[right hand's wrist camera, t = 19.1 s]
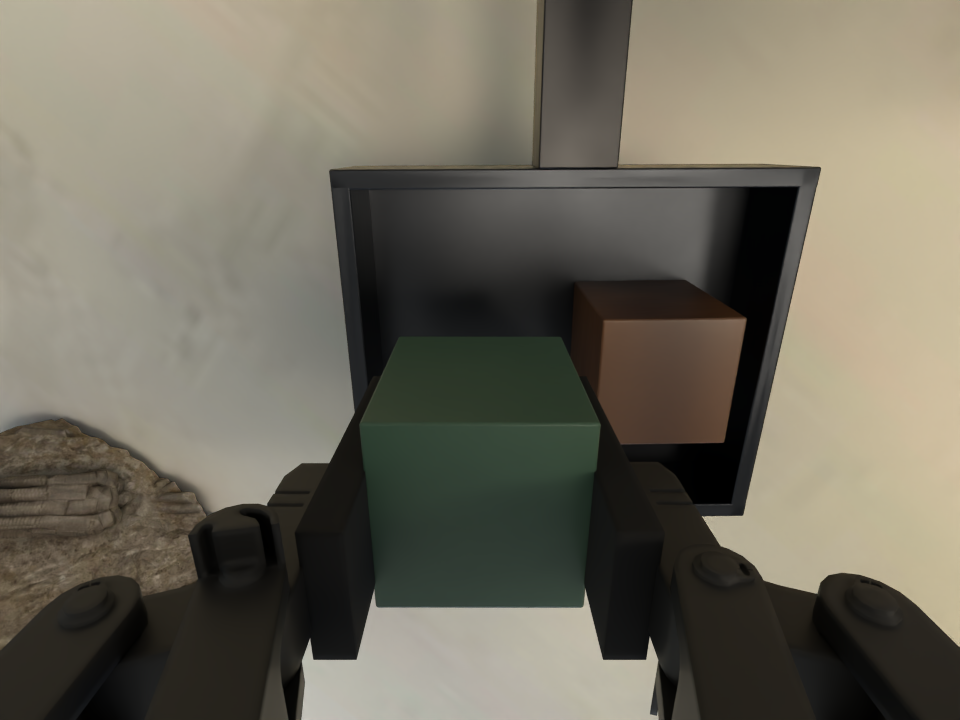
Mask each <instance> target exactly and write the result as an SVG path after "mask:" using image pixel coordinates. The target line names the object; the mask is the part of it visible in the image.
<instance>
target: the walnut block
mask: <svg viewBox="0 0 960 720" xmlns="http://www.w3.org/2000/svg"><path fill="white" fill-rule="evenodd" d="M746 321H747V319H746V317H744V316H743V315H741V314H740V313H738V312H736V311H735V310H733V309H732V308H730V307H728V306H727V305H725V304H723V303H722V302H720V301H719V300H717V299H715V298H714V297H712V296H711V295H709V294H707V293H706V292H704V291H703V290H701V289H699V288H698V287H696V286H695V285H693V284H691V283H690V282H688V281H687V280H648V281H581V282H575V284H574V301H573V319H572V338H571V356H570V358H571V360H572V362H573V365H574V367H575V369H576V371H577V373H578V376H586V377H587V379H588V381H589V383H590V385H591V387H592V389H593V391H594V392H595V394H596V396H597V398H598V400H599V402H600V404H601V406H602V408H603V410H604V412H605V414H606V416H607V418H608V420H609V422H610V424H611V426H612V428H613V430H614V432H615V434H616V436H617V438H618V440H619V442H620V444H674V443H723V442H724V439H725V434H726V429H727V423H728V418H729V412H730V407H731V402H732V396H733V391H734V385H735V380H736V375H737V369H738V364H739V358H740V353H741V348H742V342H743V337H744V331H745V326H746Z"/></svg>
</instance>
